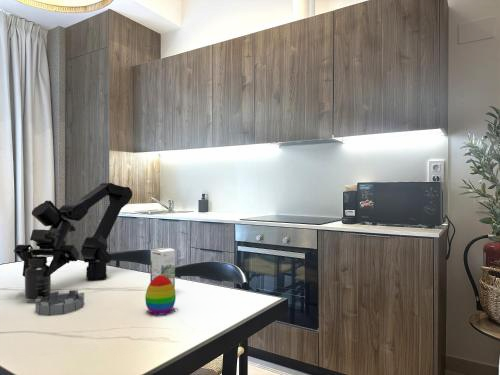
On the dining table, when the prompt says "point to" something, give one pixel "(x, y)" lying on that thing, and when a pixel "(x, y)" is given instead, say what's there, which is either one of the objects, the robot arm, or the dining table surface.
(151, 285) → the decorative egg
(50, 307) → the grey segmented ring
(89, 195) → the robot arm
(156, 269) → the syrup box
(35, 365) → the dining table surface
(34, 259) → the supplement bottle
